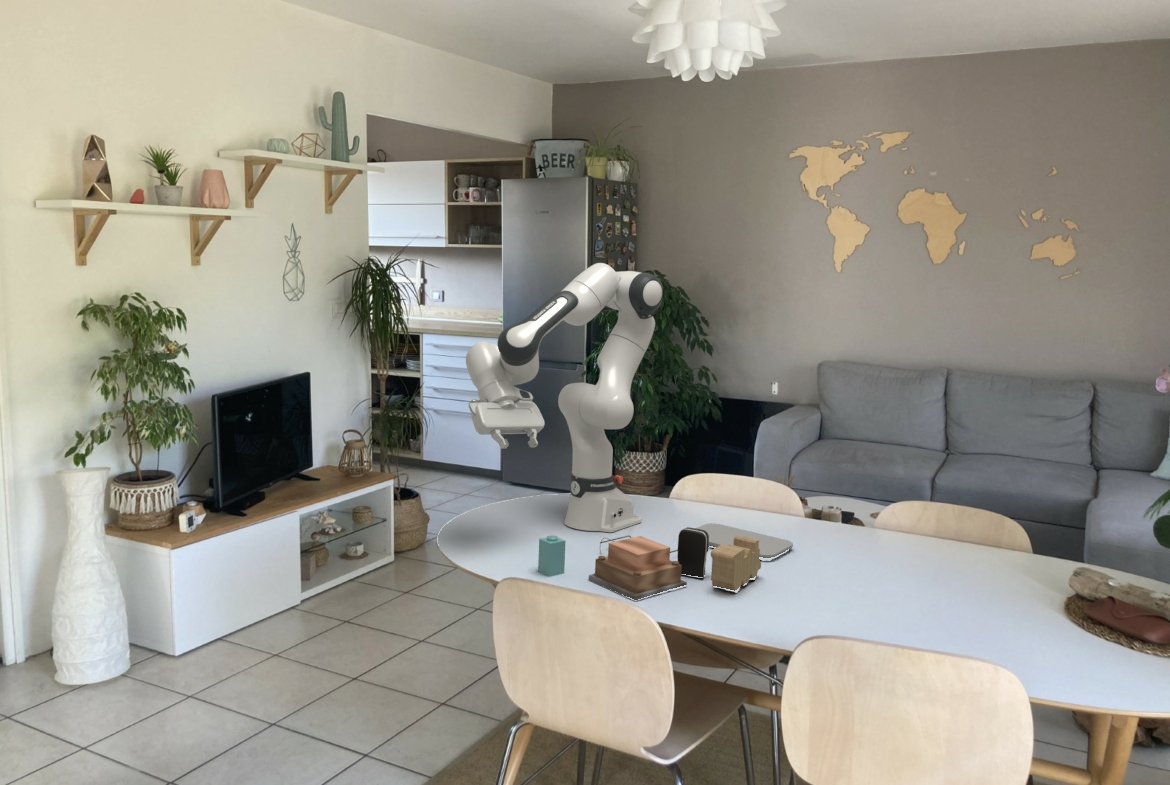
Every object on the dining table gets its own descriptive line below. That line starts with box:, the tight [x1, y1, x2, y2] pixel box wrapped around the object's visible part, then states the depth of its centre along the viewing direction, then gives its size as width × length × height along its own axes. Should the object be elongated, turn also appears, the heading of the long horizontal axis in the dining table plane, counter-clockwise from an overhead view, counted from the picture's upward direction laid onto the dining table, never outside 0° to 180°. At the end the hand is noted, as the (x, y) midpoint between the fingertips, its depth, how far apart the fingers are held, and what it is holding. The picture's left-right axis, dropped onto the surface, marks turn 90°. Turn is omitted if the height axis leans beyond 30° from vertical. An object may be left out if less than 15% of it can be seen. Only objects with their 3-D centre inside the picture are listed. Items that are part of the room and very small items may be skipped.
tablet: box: [695, 522, 794, 558], centre depth 249 cm, size 16×26×2 cm, turn 53°
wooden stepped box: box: [588, 535, 688, 600], centre depth 216 cm, size 16×16×9 cm
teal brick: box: [537, 535, 567, 578], centre depth 221 cm, size 4×4×9 cm
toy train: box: [710, 535, 762, 591], centre depth 218 cm, size 6×17×10 cm, turn 147°
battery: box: [677, 526, 709, 578], centre depth 223 cm, size 7×4×11 cm, turn 64°
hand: (520, 446), depth 229 cm, fingers open, 8 cm apart
